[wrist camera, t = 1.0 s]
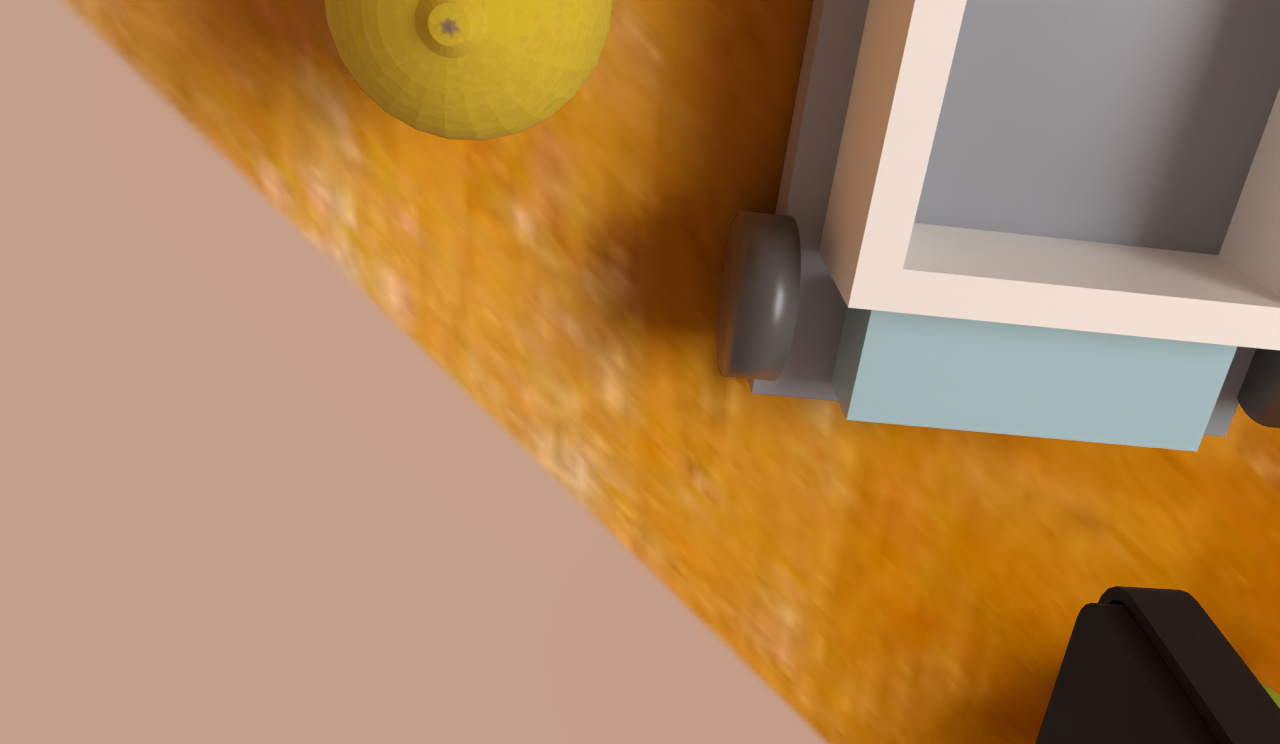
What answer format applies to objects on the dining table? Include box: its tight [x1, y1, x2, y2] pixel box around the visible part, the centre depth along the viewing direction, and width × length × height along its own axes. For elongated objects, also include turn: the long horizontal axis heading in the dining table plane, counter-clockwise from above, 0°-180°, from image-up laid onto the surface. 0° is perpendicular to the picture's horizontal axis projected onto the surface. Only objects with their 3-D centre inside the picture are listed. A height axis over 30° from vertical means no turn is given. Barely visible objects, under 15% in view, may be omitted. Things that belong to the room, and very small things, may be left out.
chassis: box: [717, 0, 1280, 451], centre depth 25 cm, size 19×15×5 cm
